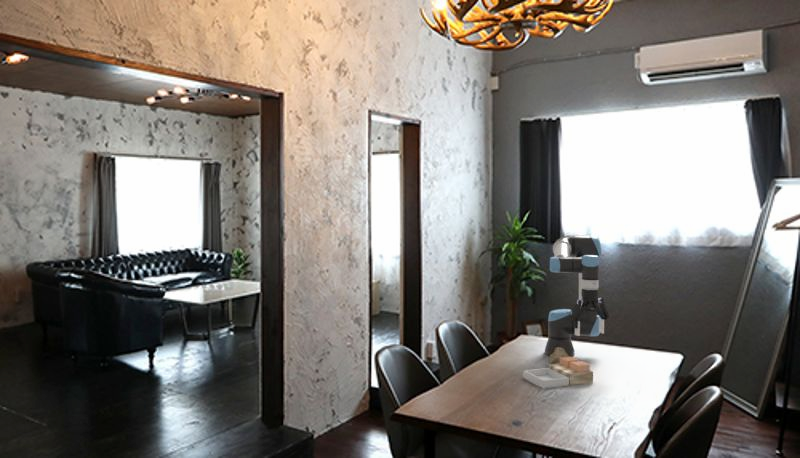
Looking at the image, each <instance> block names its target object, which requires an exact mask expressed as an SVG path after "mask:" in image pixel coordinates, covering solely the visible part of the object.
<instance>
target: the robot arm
mask: <svg viewBox="0 0 800 458" xmlns="http://www.w3.org/2000/svg"><path fill="white" fill-rule="evenodd" d="M552 252H553V255H554V256H551V257H549V271H550V272H551V273H555V274H556V273H561V274H562V273H563V274H564V273H567V274H578V299H575V305H574V307H573V310H571V309H570V308H567V309H566V308H562V309H561V308H560V309H554V310H550V311H549V313H548V320H547V321H548V330H547V331H548V332H547V333H548V336H547V337H548V339H547V341H546V344H545V347H544V354H545V355H547V356H549V357H550V355H551V354H553V352H554V350H555V348H556V347H559V348H563V349H564V350H565V352H566V354H567V355H569V357H574V356H575V348H574V346H573V345H574V344H573V342H572V336H577V337H580V336H585V337H598V336H599V335H600V334H602V335H603V334H605V326H606V320H607V319H609V318H610V314H609V313H608V310H607V306H606V304H605V300H604V298H602V297H599V296H600V295H599V287H600V285H599V280H600V279H599V277H600V276H599V275H600V258H601V257H602V246H601V241H600V238H599V236H597V235H591V234H590V235H565V236H562V237H560V238H558V239H557V240H556V241H555V242H554V243H553V246H552Z"/></svg>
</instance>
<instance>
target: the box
mask: <svg viewBox="0 0 800 458" xmlns="http://www.w3.org/2000/svg"><path fill="white" fill-rule="evenodd" d="M522 372H523V375H522V376H523V379H524V380H526V381H528V382H530V383H532V384H533V385H536V386H537V387H539V388H540V389H543V390H544V389H552V388H560V387H570V385H569V377H567V376H564V375H562V374H560V373H558V372H556V371H554V370H552V369H549V367H544V368H534V369H526V370H523V371H522Z"/></svg>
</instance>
